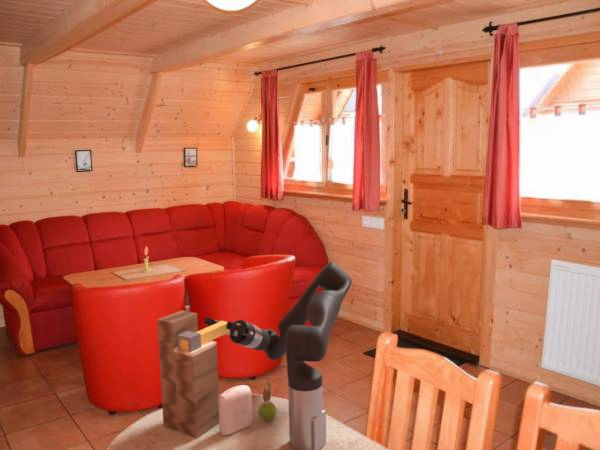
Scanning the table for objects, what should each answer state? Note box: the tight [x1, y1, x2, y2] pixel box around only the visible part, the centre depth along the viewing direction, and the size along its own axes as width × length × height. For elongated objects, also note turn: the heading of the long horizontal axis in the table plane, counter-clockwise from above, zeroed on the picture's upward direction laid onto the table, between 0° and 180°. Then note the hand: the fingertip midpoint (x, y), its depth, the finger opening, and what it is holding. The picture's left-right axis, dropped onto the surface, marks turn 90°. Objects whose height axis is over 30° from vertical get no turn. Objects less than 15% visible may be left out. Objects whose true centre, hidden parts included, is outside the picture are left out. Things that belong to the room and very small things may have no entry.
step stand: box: [156, 309, 220, 439], centre depth 157 cm, size 13×10×32 cm
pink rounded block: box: [218, 384, 253, 436], centre depth 156 cm, size 10×4×12 cm, turn 134°
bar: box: [177, 320, 230, 352], centre depth 158 cm, size 5×18×4 cm, turn 148°
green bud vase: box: [258, 376, 278, 422], centre depth 161 cm, size 5×6×12 cm
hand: (216, 322), depth 162 cm, fingers open, 8 cm apart
